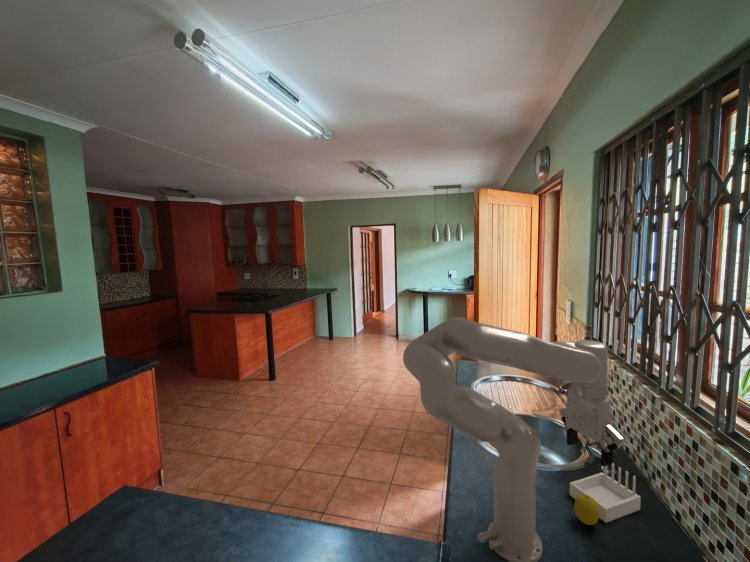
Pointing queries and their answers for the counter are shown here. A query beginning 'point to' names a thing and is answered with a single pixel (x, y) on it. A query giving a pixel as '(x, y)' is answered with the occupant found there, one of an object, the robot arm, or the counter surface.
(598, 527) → the counter surface
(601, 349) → the robot arm
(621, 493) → the rack
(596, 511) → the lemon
